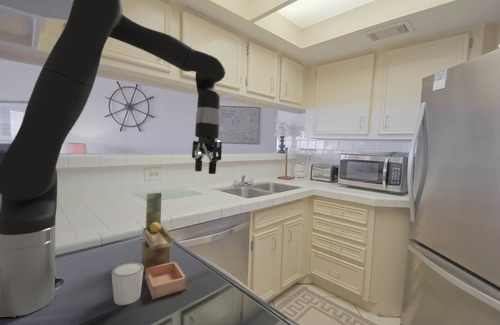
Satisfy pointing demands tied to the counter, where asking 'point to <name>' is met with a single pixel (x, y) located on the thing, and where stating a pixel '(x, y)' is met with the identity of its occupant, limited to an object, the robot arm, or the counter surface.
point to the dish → (165, 279)
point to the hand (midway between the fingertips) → (204, 172)
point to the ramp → (154, 215)
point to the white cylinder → (127, 283)
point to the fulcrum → (154, 256)
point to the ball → (154, 227)
